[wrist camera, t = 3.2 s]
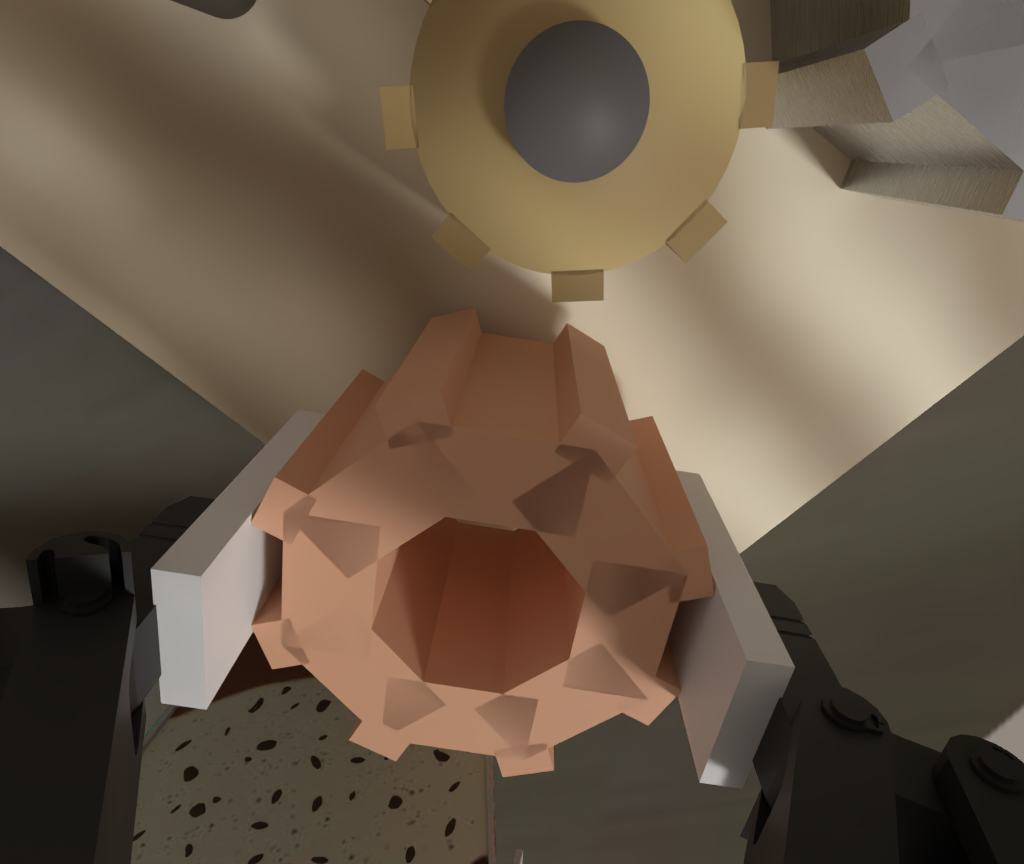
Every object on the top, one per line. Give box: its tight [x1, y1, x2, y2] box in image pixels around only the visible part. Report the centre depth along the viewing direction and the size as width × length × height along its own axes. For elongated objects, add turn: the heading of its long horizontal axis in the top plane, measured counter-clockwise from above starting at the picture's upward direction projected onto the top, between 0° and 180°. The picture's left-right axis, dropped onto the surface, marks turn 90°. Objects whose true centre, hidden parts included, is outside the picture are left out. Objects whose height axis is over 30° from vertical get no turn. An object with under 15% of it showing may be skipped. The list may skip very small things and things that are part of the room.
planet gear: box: [251, 308, 714, 777], centre depth 15 cm, size 8×8×6 cm
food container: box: [131, 631, 523, 864], centre depth 20 cm, size 12×6×10 cm, turn 92°
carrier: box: [0, 0, 1024, 554], centre depth 14 cm, size 24×24×6 cm
